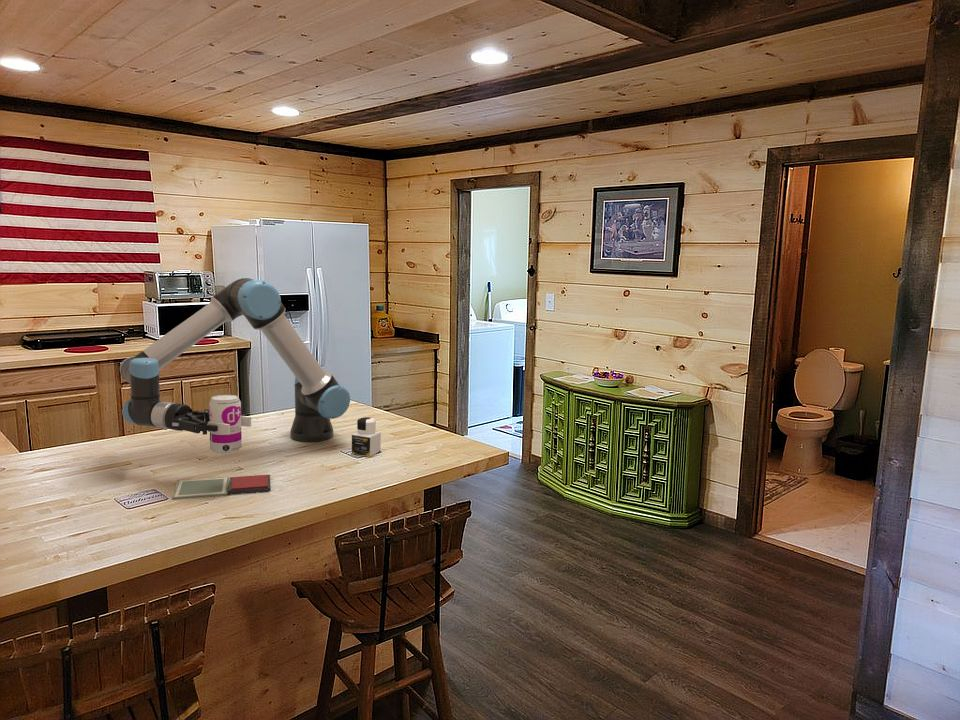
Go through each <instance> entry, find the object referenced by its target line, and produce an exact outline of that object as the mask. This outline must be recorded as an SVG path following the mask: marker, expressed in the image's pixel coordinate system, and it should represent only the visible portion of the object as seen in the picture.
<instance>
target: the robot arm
mask: <svg viewBox="0 0 960 720" xmlns="http://www.w3.org/2000/svg"><path fill="white" fill-rule="evenodd" d="M281 298H282V297H281V295H280V293H279V290H278V289H277V288H276V287H275V286H274V284H273V285H272V284H271V283H270V282H268V281H265V280H262V279H255V278H254V279H252V278H248V277H246V278H243V277H241V278H239V279H237V280H236V279H235V280H234V281H232V282H230V283H229V284H228V285H226V287H224V288H222V289H221V290H219V292H217V293H216V294H214V295H213V296H212V297H211V298H210V302H209V303H207V304H206V305H204V306H203V307H202V308H201V309H199V310H198V311H196V312H195V313H194V314H193V315H191V316H190V317H187V319H185V320H184V321H182V322H181V323H179V324H178V325H176V326H175V327H174V328H172V329H171V330H170V331H168V332H167V333H166V334H164V335H163V336H162V337H160V338H159V339H157V340H155V341H154V342H153V343H151V344H150V345H149V346H147V347H146V348H144V349H142V351H140V352H139V353H137V354H136V355H134V356H130V357H126V358H125V359H124V360H122V362H121V363H120V366H119V372H120V375H121V377H122V379H123V380H124V381H126V382H127V383H128V384H129V386H130V388H129V389H130V398H128V399H127V400H126V401H125V402H124V404H123V408H122V409H121V414H122V417H123V419H124V420H125V421H126V422H128V423H130V424H133V425H138V426H141V427H143V426H145V427H153V428H154V427H155V428H161V429H163V430H164V431H167V430H173V431H180V432H182V431H184V432H185V431H186V432H190V433H193V434H200V433H201V432H202V435H203V436H204V435H205V436H206V435H208V433H210V432H213V433H220V434H227V435H229V434H230V424H224V423H217V422H209V409H204V411H199V410H193V409H192V408H191V407H190V406H189V405H187V404H184V403H176V402H168V401H161V391H160V370H162V369H163V368H164V367H165V366H167V365H168V364H170V363H171V362H173V361H174V360H175V359H177V358H178V357H179V356H181V355H182V354H183V353H184V352H186V351H188V350H189V349H190V348H192V347H193V346H194V345H196V344H197V343H198V342H200V341H201V340H203V339H204V338H205V337H207V336H208V335H210V334H211V333H212V332H214V331H215V330H216V329H218V328H219V327H220V326H223V324H224V323H226V322H231V323H232V322H233V321H234V320H235V319H237V318H239V317H241V316H243V317H244V318H245V319H246V320H247V322H248V323H249V324H250V326H251V327H252V329H254V330H257V331H261V332H262V333H263V335H264V336H265V338H266V339H267V340H268V342H269V343H270V344H271V345H272V347H273V348H274V350H275V351H276V352H277V354H278V355H279V356H280V358H281V359H282V360H283V362H284V363H285V365H286V366H287V367H288V369H289V370H290V371H291V372H292V374H293V375H294V377H295V378H294V413H295V414H294V418H293V422H292V425H291V427H290V438H291V439H292V440H294V441H297V442H298V441H299V442H308V443H309V442H311V443H313V442H321V441H326V440H327V441H328V440H329V439H332V438H333V437H334V427H333V424H332V422H331V419H337V418H340V417H342V416H343V415H344V414H345V413H346V412H347V410H348V409H349V407H350V404H351V395H350V392H349V391H348V389H346V387H345V386H343V385H341V384H339V382H338V381H337V379H336V378H335V377H334V376H333V374H332V372H330V371H327V370H324V369H323V368H322V367H321V365H320V363H319V361H317V359H316V358H315V357H314V355H313V354H312V352H311V351H310V349H309V348H308V346H307V345H306V343H305V342H304V341H303V339H302V338H301V337H300V335H299V333H298V332H297V331H296V329H295V328H294V327H293V325H292V324H291V323H290V321H289V320H288V318H287V317H286V315H285V314H286V313H285V312H286V307H285V306H284V304H283V302H282V299H281ZM241 427H248V428H250V427H252V416H247V415H241Z"/></svg>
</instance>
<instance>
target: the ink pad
mask: <svg viewBox="0 0 960 720" xmlns="http://www.w3.org/2000/svg"><path fill="white" fill-rule="evenodd" d="M271 487H272V486H271V474H257V475H241V476H230V477H229V483H228V491H227V496H232V495H231V494H234V495H242V494H241V493H247V494H255V493H256V492H260V493H269V492H268V491H271V489H272V488H271ZM256 494H257V493H256Z"/></svg>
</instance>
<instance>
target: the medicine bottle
mask: <svg viewBox="0 0 960 720" xmlns="http://www.w3.org/2000/svg"><path fill="white" fill-rule="evenodd" d="M376 422H377V421H376V419H375V418H373V417H369V416H368V417H366V416H365V417H360V418H359V419H357V421H356V423H357V425H356V427H357V428H356V430H357V431H356V432H354V433H352V434H351V454H352V455H353V454H357V455H356V456H359V455H364V456H363V457H365V456H371V457H373V456H375V455H377V454H378V453H377V452H379V451H380V452H381V447H382V446H381V445H382V438H381V437H382V432H381V431H377V430H376V427H377V426H376V425H377V424H376ZM380 452H379V453H380ZM376 453H377V454H376ZM374 454H375V455H374ZM372 455H373V456H372Z"/></svg>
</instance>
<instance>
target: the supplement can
mask: <svg viewBox="0 0 960 720" xmlns="http://www.w3.org/2000/svg"><path fill="white" fill-rule="evenodd" d="M208 410H209V422H217V423H224V424H230V434H229V435H227V434H220V433H213V432H209V449H210V450H211V451H212V452H213V453H215V454H219V455H220V454H222V455H223V454H226V455H227V454H232V453H236V452H238V451H240V449H241V448H242V445H243V442H242V441H243V440H242V435H243V434H242V426H241V416H242V401H241V400H240V398H239V396H238V395H234V394H220V395H219V394H218V395H214V396H212V397H211V399H210V401H209V403H208Z"/></svg>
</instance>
